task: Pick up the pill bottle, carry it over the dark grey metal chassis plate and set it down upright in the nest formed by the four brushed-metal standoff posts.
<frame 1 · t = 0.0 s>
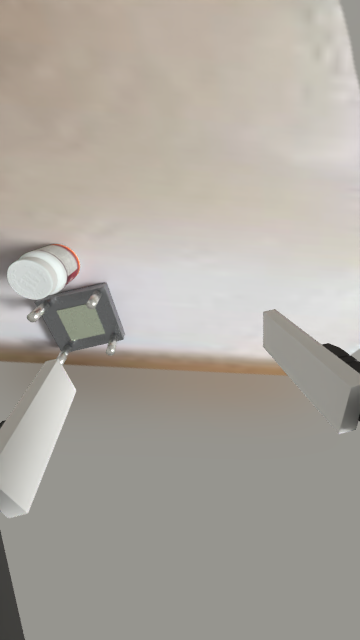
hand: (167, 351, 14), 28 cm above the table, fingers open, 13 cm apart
chassis: (85, 316, 41), on the table
pill bottle: (62, 262, 37), on the table
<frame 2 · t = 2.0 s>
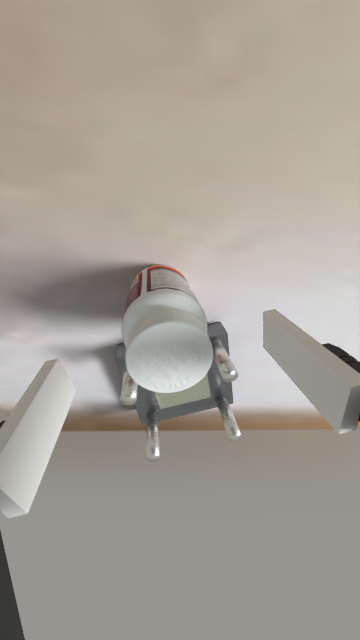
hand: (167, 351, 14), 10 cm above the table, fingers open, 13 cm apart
chassis: (178, 369, 27), on the table
pill bottle: (159, 292, 22), on the table
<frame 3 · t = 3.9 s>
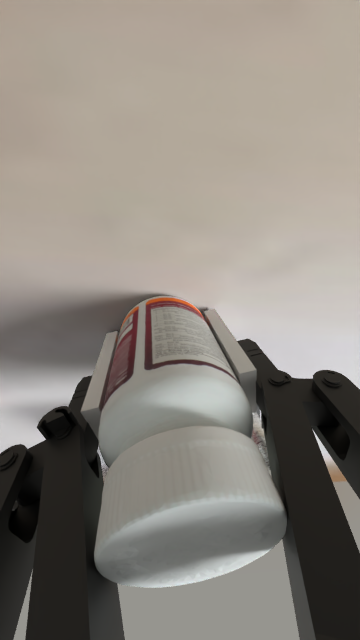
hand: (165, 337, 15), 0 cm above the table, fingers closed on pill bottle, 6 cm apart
chassis: (187, 425, 21), on the table
pill bottle: (164, 331, 16), on the table, touching gripper
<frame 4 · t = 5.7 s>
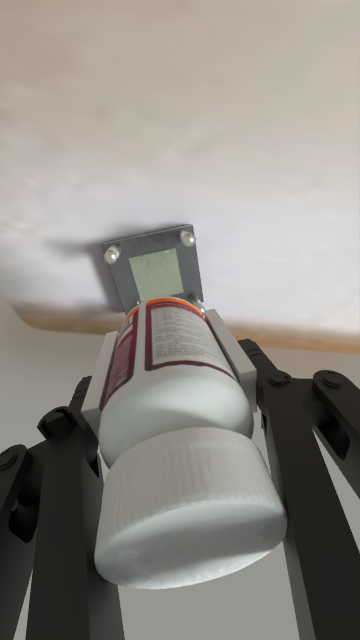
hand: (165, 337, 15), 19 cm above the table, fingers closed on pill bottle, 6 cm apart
chassis: (156, 271, 32), on the table
pill bottle: (164, 331, 16), point 19 cm above the table, touching gripper
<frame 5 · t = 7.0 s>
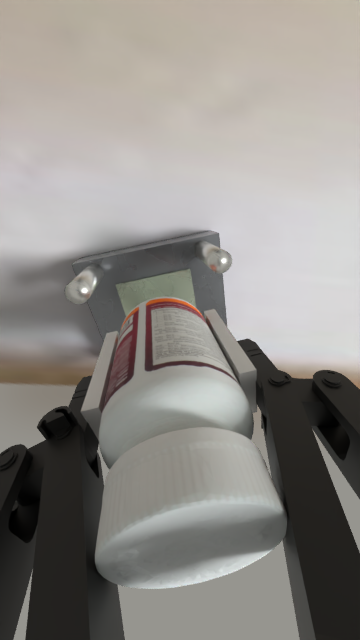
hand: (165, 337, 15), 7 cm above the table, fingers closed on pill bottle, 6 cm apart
chassis: (159, 299, 22), on the table
pill bottle: (164, 331, 16), point 7 cm above the table, touching gripper
when the fingers open (4 cm above the table, at t = 8.0 s): pill bottle stays where it is, resting on chassis.
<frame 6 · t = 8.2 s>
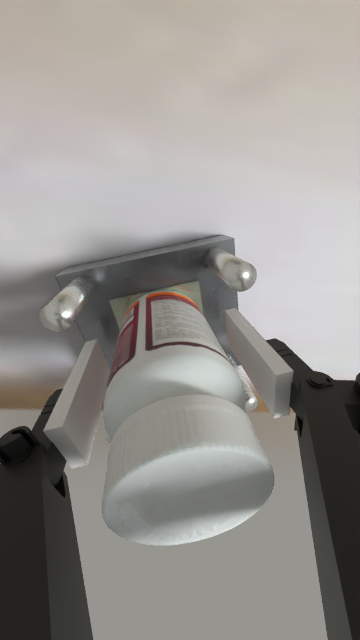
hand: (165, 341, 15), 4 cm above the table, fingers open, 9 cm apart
chassis: (161, 314, 19), on the table
pill bottle: (163, 325, 16), point 3 cm above the table, touching chassis
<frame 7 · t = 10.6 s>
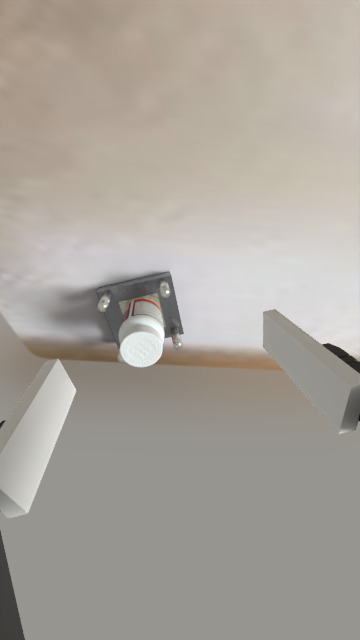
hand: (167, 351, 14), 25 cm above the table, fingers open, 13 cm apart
chassis: (143, 308, 38), on the table
pill bottle: (143, 313, 36), point 2 cm above the table, touching chassis
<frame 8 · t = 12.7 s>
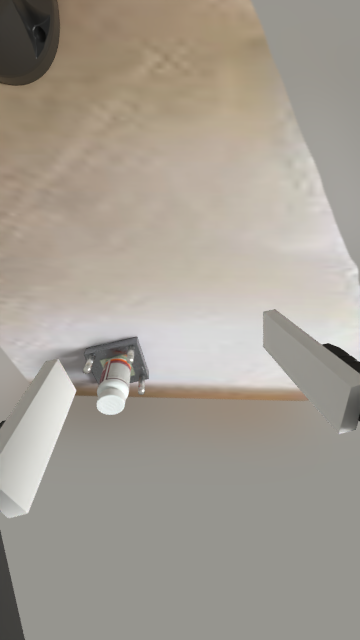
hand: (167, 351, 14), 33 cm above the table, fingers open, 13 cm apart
chassis: (119, 360, 53), on the table
pill bottle: (117, 366, 50), point 2 cm above the table, touching chassis
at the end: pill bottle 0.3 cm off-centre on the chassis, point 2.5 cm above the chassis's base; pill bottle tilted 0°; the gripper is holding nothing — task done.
